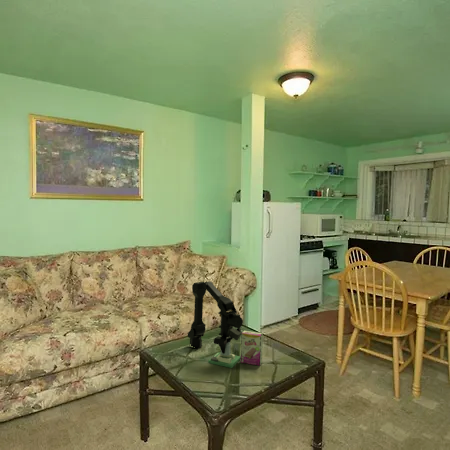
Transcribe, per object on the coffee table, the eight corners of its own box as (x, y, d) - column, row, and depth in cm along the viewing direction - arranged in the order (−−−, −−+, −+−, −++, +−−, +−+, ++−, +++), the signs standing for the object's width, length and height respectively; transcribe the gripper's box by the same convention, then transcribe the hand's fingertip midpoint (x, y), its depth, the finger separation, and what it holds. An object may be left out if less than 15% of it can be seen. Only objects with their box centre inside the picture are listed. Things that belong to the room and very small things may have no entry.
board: (208, 362, 171) (208, 356, 171) (218, 354, 183) (218, 348, 183) (232, 368, 165) (232, 361, 165) (240, 358, 177) (241, 352, 177)
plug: (220, 354, 172) (220, 343, 172) (223, 351, 176) (223, 341, 176) (228, 356, 170) (228, 345, 170) (231, 353, 174) (231, 342, 174)
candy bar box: (240, 363, 172) (240, 332, 172) (242, 359, 176) (243, 330, 176) (260, 366, 168) (261, 335, 168) (262, 362, 173) (263, 332, 173)
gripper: (233, 330, 161) (232, 361, 161) (245, 321, 178) (244, 348, 178) (213, 327, 166) (212, 357, 166) (227, 318, 183) (226, 345, 183)
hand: (225, 352), depth 173 cm, fingers closed on plug, 4 cm apart
